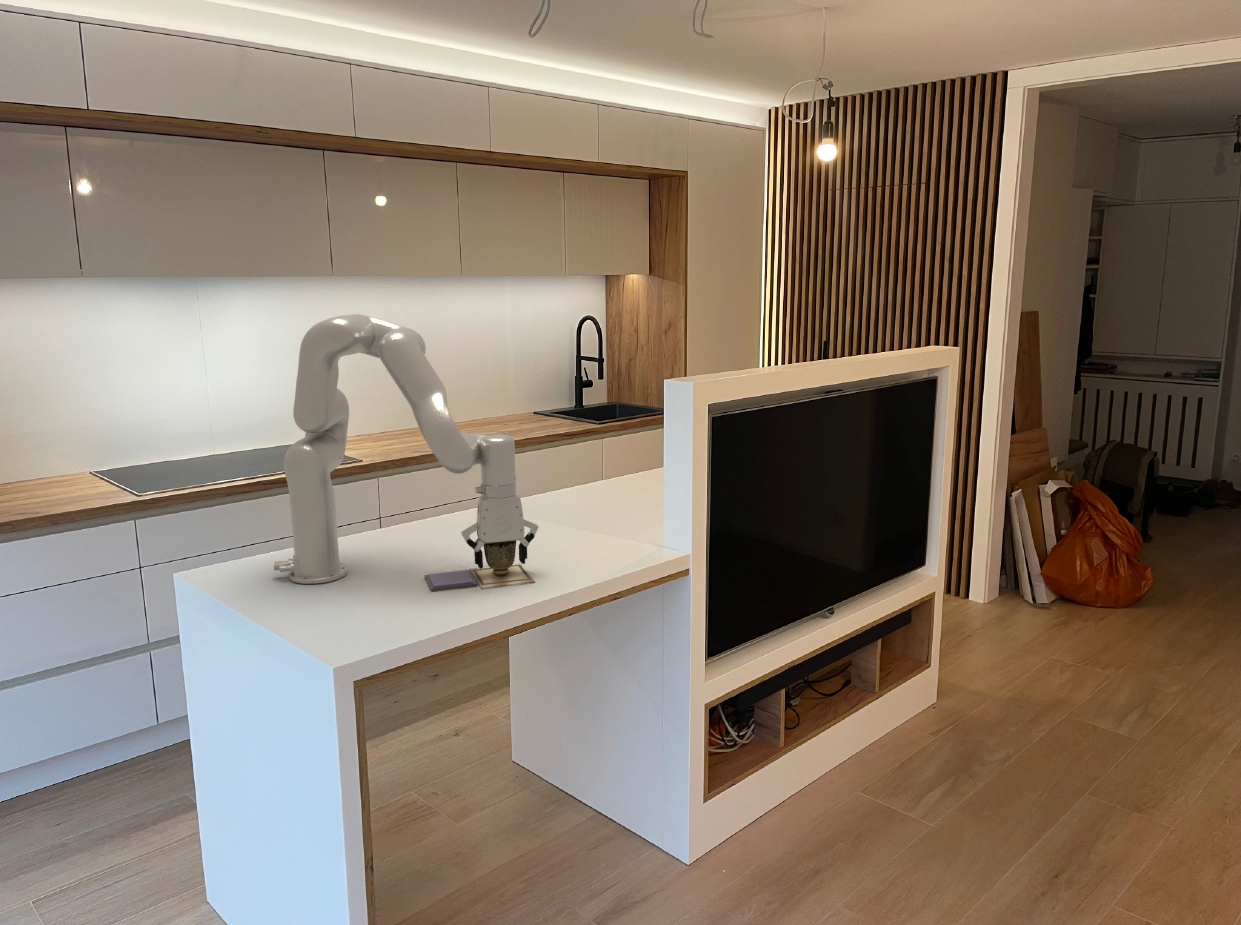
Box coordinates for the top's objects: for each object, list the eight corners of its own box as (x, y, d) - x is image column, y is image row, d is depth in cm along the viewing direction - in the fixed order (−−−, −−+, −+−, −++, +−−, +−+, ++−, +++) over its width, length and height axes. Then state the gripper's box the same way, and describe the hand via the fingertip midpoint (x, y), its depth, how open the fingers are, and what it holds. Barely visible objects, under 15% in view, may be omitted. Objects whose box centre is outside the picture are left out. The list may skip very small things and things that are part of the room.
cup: (511, 580, 206) (510, 546, 204) (479, 578, 207) (478, 544, 206) (521, 570, 213) (520, 536, 211) (490, 568, 214) (489, 535, 213)
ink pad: (431, 591, 200) (431, 587, 200) (424, 577, 209) (424, 573, 209) (477, 586, 203) (477, 582, 203) (468, 572, 213) (468, 568, 212)
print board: (481, 589, 202) (481, 586, 202) (469, 570, 215) (469, 568, 214) (535, 582, 206) (535, 580, 205) (520, 564, 218) (520, 562, 218)
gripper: (463, 497, 200) (466, 573, 203) (541, 490, 205) (542, 565, 209) (457, 490, 207) (460, 563, 210) (532, 483, 212) (534, 555, 216)
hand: (501, 564), depth 209 cm, fingers open, 9 cm apart
